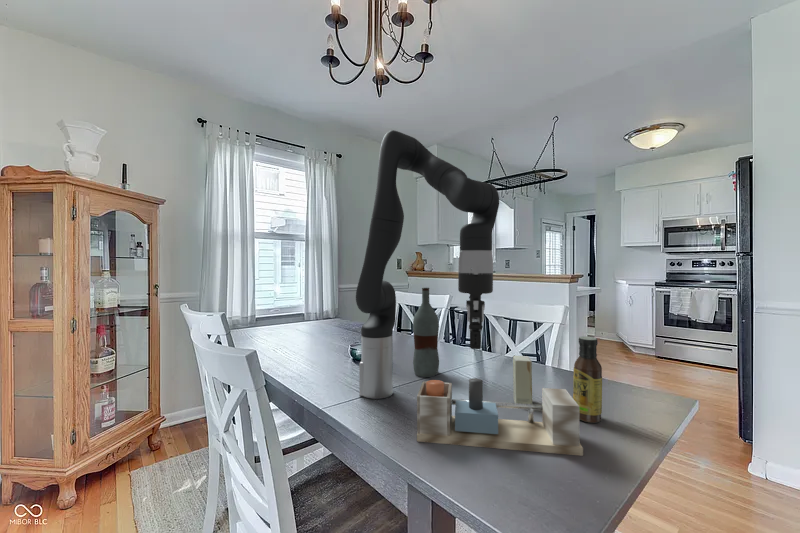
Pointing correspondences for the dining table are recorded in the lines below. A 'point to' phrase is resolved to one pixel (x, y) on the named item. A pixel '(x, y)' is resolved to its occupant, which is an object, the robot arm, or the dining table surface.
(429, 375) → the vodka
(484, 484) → the dining table surface
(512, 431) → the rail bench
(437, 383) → the button
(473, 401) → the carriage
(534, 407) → the handrail
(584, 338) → the sauce bottle
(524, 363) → the skincare box
